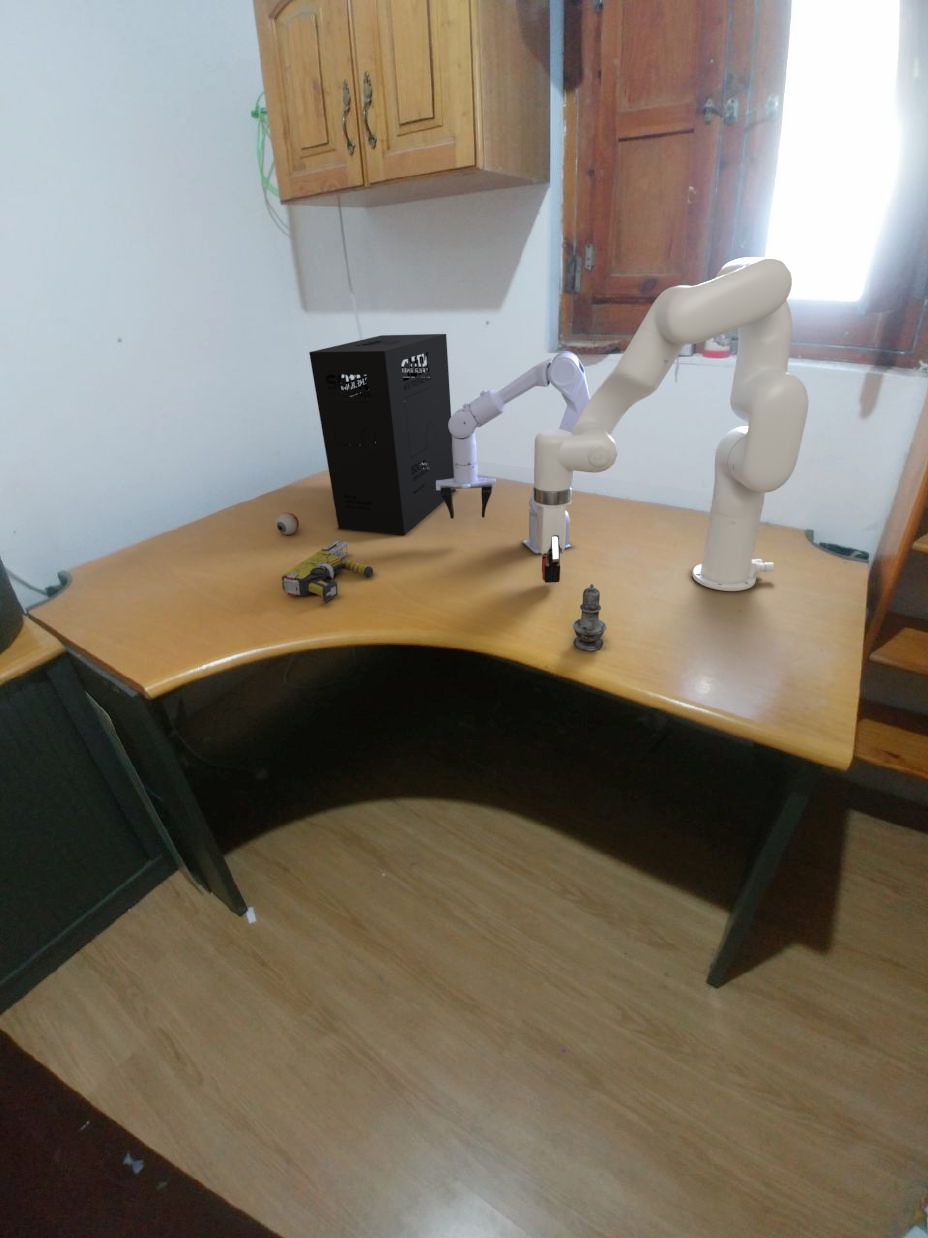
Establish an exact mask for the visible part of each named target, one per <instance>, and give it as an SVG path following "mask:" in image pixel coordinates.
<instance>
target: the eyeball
mask: <svg viewBox="0 0 928 1238" xmlns="http://www.w3.org/2000/svg"><path fill="white" fill-rule="evenodd" d="M299 525H300V522H299V519H298V517H297V516H296V515H295V514H294V513H292V512H287V511H286V512H282V513H280V514H279V515H278V516H277V517H276V520H275V527H276V529H277V530H278V531H279V532H280V533H281V534H282V535H285V536H286V535H287V536H289V535H293V534H295V533H296V532H297V531H298V529H299Z"/></svg>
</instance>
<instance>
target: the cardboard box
mask: <svg viewBox="0 0 928 1238" xmlns="http://www.w3.org/2000/svg"><path fill="white" fill-rule="evenodd" d="M308 353H309V359H310V365H311V373H312V377H313V382H314V383H313V384H314V389H315V395H316V396H315V397H316V402H317V406H318V407H317V408H318V413H319V421H320V425H321V426H320V427H321V431H322V437H323V443H324V445H323V446H324V449H325V456H326V462H327V469H328V474H329V481H330V485H331V492H332V499H333V505H334V511H335V517H336V522H337V528H338V529H339V530H348V531H356V532H367V533H379V534H387V535H388V534H389V535H400V536H406V535H407V534H408V533H409V532H410V531H411V530H413V529H414V528H415V527H416V526H417V525H418V524H419V523H421V522H422V521H423V520H424V519H425V518H426V517H427V516H428V515H430V514H431V513H432V512H433V511H435V509H437V508H438V507H439V506H440V505H441V504H442V503H443V502H445V501H444V499H443V498H442V496H441V490H436V480H446V479H453V478H454V470H453V454H452V434H451V433H450V431H449V427H448V423H449V420H450V418H451V416H452V406H451V405H452V404H451V390H450V372H449V371H450V370H449V356H448V341H447V333H429V334H428V333H424V334H423V333H421V334H419V333H417V334H384V335H383V334H381V335H377V336H372V337H368V338H364V339H359V340H355V341H351V342H347V343H343V344H338V345H334V346H329V347H325V348H321V349H317V350H312V351H309V352H308ZM413 359H414V360H413ZM406 360H407V361H406ZM403 361H405V362H404V364H403ZM425 361H426V364H425ZM402 364H403V365H402ZM351 376H353V379H352V378H351ZM358 376H359V377H358ZM347 378H348V381H347ZM456 491H457V489H452V494H454V493H455V492H456Z"/></svg>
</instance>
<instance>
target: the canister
mask: <svg viewBox="0 0 928 1238" xmlns="http://www.w3.org/2000/svg"><path fill="white" fill-rule="evenodd" d="M549 559H550V557H549ZM545 565H546V558H544V559H543V567H542V566H541V579H542V580H543V581H544V568H545Z"/></svg>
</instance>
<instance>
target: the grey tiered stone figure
mask: <svg viewBox="0 0 928 1238" xmlns="http://www.w3.org/2000/svg"><path fill="white" fill-rule="evenodd" d="M600 597H601V592H600V590H599V589H597V588H595V586H594V584H593V583H591V584H590V585H589V587H587V588H585V589H584V590H583V592H582V603H581V604H580V605H579V608H580V610H581V614H580V615H581V616H580V618H578V619H576V620H574V621H573V623H572V629H573V630H574V633H575V635H576V637H575V638H574V639H573V645H574V646H575V647H576V648H578V649H580V650H582V651H591V652H592V651H597V650H599V649H601V648H602V647H603V646H604V640H603V639H602V637H603V636H604V633H605V631H606V630H607V625H606V623H605V622H604V621H602V620H601V619H600V618H599V617H600V611H601V609H602V607H601V605H600Z"/></svg>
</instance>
